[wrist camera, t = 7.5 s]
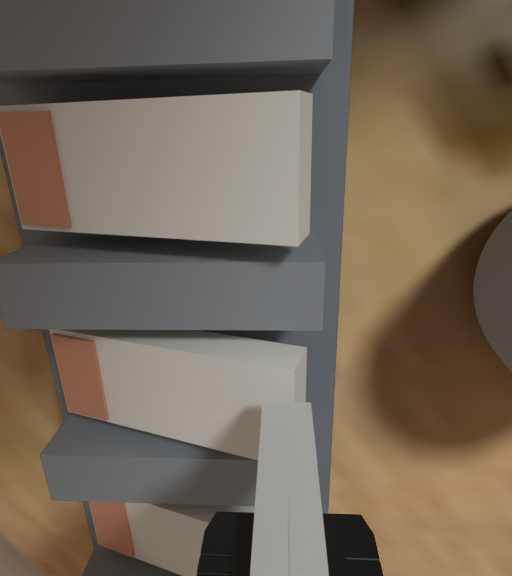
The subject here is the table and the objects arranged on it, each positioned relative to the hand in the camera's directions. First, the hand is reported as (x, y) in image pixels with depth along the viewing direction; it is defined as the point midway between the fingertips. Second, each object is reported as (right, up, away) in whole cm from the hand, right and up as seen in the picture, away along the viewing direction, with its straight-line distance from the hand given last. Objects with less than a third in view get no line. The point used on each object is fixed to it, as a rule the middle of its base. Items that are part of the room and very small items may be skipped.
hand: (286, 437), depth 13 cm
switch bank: (-4, +4, +10) cm, 11 cm away
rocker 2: (-4, +1, +3) cm, 5 cm away
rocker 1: (-4, +8, 0) cm, 10 cm away
